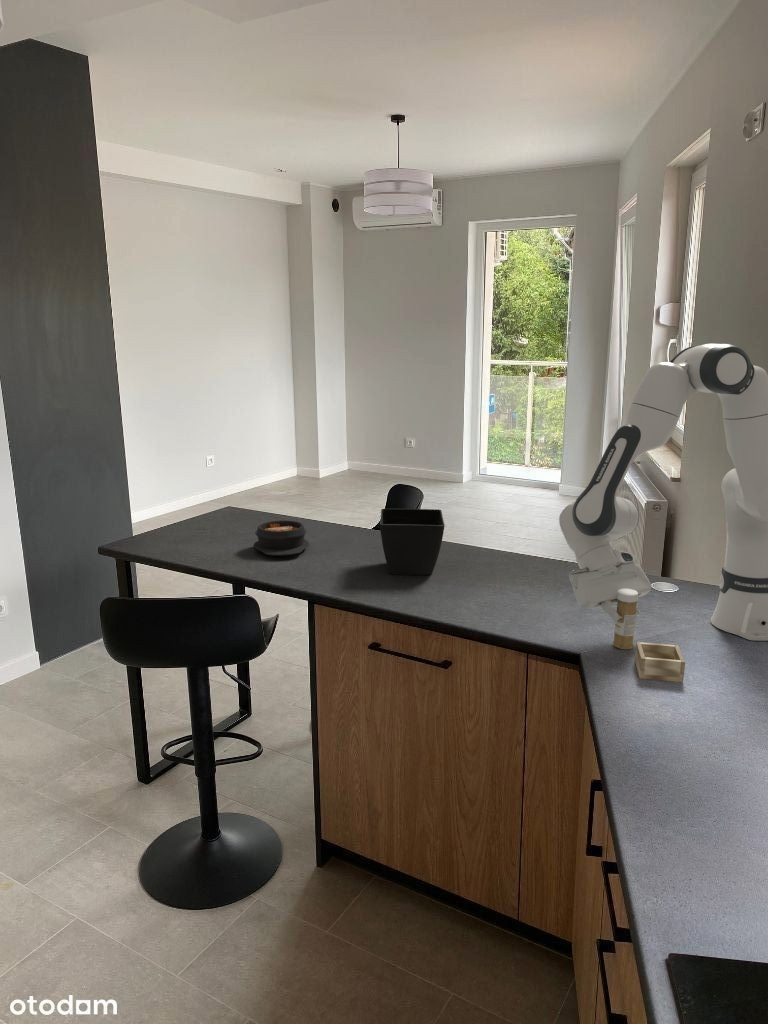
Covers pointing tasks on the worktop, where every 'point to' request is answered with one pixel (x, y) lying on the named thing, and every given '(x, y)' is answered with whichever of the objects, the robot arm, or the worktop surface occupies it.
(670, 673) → the box
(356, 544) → the worktop surface
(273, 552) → the casserole
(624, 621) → the sprinkles bottle
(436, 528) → the flower pot
